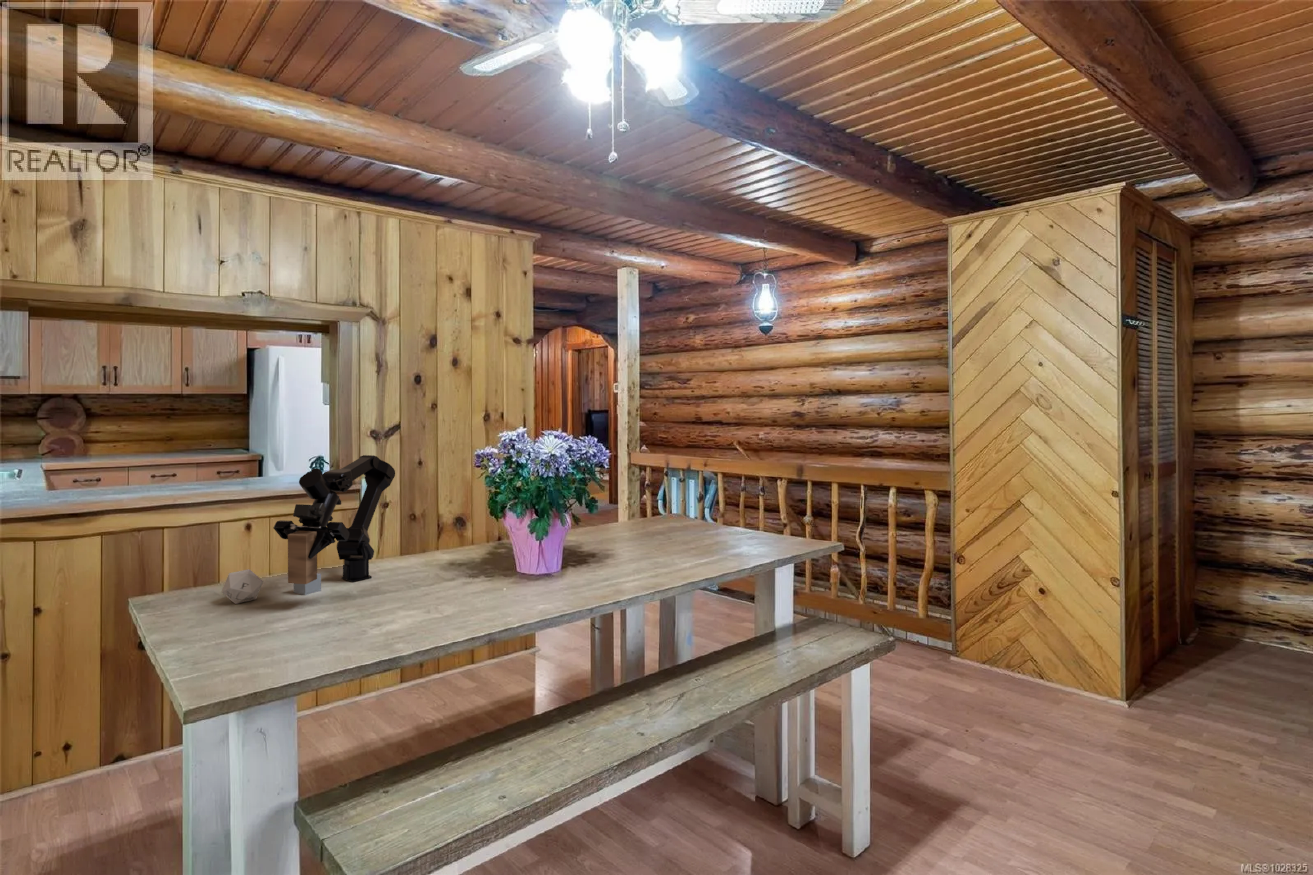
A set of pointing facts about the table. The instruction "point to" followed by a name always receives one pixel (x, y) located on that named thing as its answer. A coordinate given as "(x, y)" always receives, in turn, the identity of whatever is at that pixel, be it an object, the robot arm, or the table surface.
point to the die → (242, 586)
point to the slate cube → (309, 586)
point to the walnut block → (301, 557)
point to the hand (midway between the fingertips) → (299, 557)
